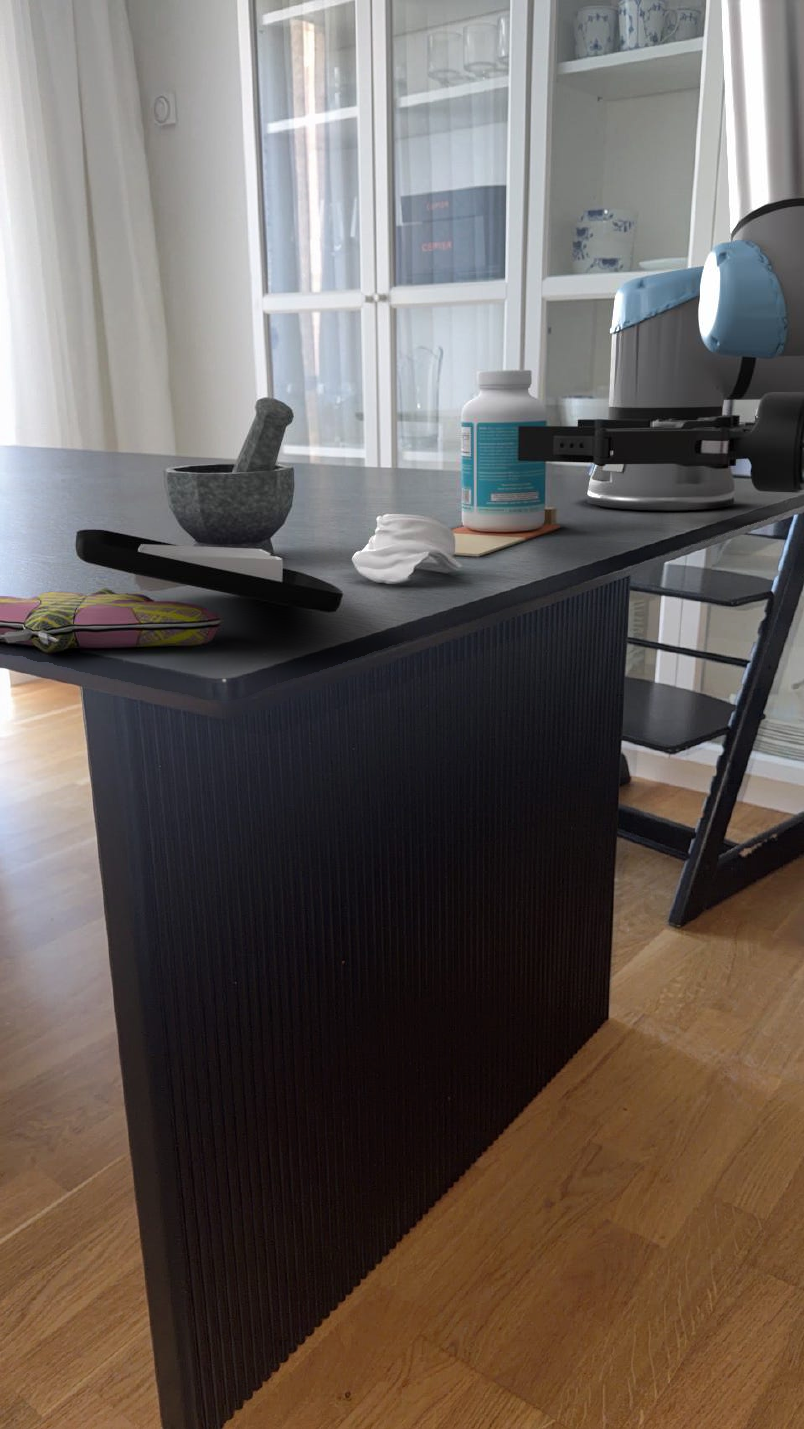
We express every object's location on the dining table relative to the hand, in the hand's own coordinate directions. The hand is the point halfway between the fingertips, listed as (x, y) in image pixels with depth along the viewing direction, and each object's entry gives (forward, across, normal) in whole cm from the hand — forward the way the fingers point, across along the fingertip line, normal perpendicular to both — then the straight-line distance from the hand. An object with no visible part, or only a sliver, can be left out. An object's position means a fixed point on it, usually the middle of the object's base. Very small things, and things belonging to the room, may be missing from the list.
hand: (550, 438), depth 91 cm
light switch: (+9, -47, -3) cm, 48 cm away
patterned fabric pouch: (+9, -44, -7) cm, 45 cm away
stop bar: (+4, +5, -8) cm, 10 cm away
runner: (+4, -5, -8) cm, 11 cm away
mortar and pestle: (+16, -23, -8) cm, 29 cm away
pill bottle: (+4, 0, -8) cm, 9 cm away
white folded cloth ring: (+1, -24, -8) cm, 26 cm away
